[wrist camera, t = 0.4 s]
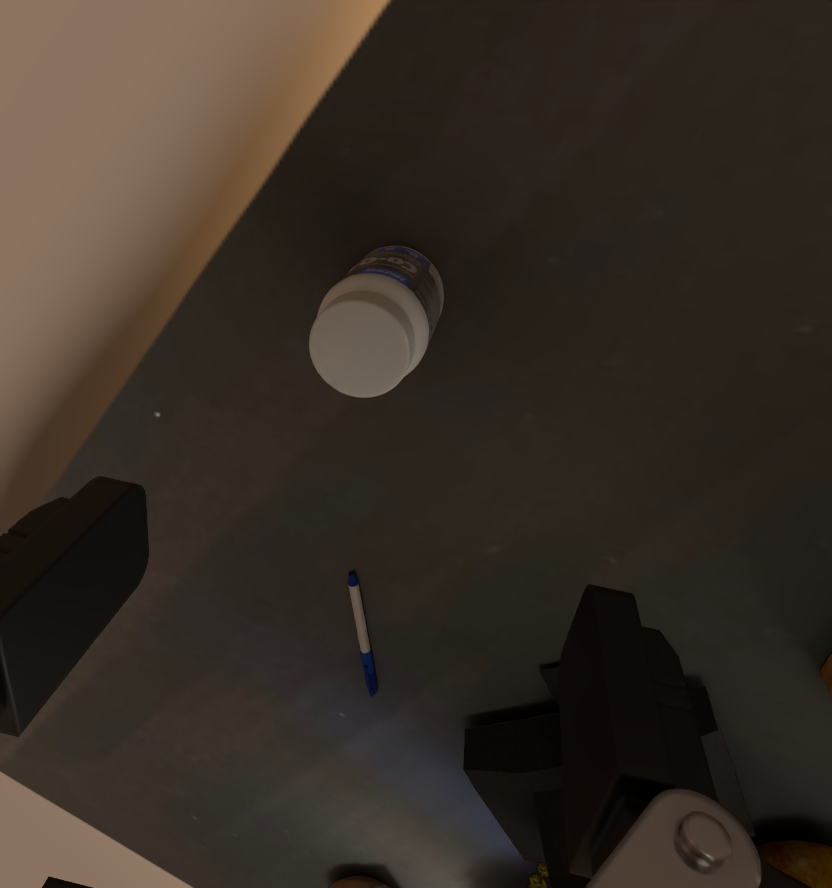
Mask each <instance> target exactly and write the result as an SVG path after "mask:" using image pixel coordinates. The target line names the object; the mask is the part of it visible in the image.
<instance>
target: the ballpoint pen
mask: <svg viewBox="0 0 832 888" xmlns="http://www.w3.org/2000/svg"><path fill="white" fill-rule="evenodd" d="M348 585H349V590H350V596H351V601H352V606H353V612H354V617H355V622H356V627H357V633H358V638H359V643H360V649H361V651H360V653H361V658H362V664H363V669H364V673H365V679H366V684H367V687H368V690H369V693H370V696H373V695H375V694H376V693H377V680H376V674H375V668H374V663H373V657H372V652H371V648H370V644H369V639H368V633H367V628H366V622H365V616H364V611H363V605H362V600H361V594H360V588H359V583H358V580H357V578H356V575H355V573H354V572H350V573H349V581H348Z"/></svg>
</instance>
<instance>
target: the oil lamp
mask: <svg viewBox="0 0 832 888" xmlns="http://www.w3.org/2000/svg"><path fill="white" fill-rule="evenodd" d="M328 888H390V887H388V886H387V885H386V884H385V883H382V882H380V881H378V880H376V879H373V878H371V877H365V876H352V877H347V878H344V879H342V880H339V881H336V882H334V883H332V884H331V885H330V886H329V887H328Z"/></svg>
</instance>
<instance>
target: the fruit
mask: <svg viewBox="0 0 832 888" xmlns="http://www.w3.org/2000/svg"><path fill="white" fill-rule="evenodd" d="M756 850H757V852H758V855H759V856H760V857H761V858H763V859H764V860H765V861H767V862H768V863H769V864H771V865H773V866H774V867H776V868H778V869H779V870H781V871H783V872H785V873H786V874H788V875H790V876H792V877H794V878H796V879H797V880H799V881H801V882H803V883H805V884H807V885H808V886H810V887H812V888H832V847H831V846H828V845H825V844H820V843H814V842H806V841H798V840H787V841H776V842H770V843H765V844H762V845H758V846H757V847H756Z"/></svg>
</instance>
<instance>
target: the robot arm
mask: <svg viewBox="0 0 832 888" xmlns="http://www.w3.org/2000/svg"><path fill="white" fill-rule="evenodd" d="M148 558H149V543H148V526H147V509H146V494H145V490H144V488H143V487H142V486H141V485H138V484H134V483H129V482H125V481H120V480H116V479H111V478H106V477H102V476H98V477H95V478H93V479H92V480H91V481H90V482H88V483H87V484H86V485H85V486H84V487H83V488H82V489H81V490H79V491H78V492H77V493H76V494H75V495H74V496H73V497H72V498H70V499H68V498H64V497H60V498H58V499H56V500H54V501H52V502H49V503H47V504H45V505H43V506H41V507H38V508H36V509H34V510H32V511H30V512H29V513H28V514H27V515H26V516H24V517H23V518H22V519H21V520H19V521H18V522H17V523H16V524H15V525H14V526H13V527H11V528H10V529H9V531H8V533H7V534H3V535H2V536H0V733H4V734H8V735H12V736H17V737H19V736H20V734H21V733H22V732H23V731H24V729H25V728H26V727H27V726H28V724H29V723H30V722H31V721H32V719H33V718H34V717H35V715H36V714H37V713H38V712H39V710H40V709H41V708H42V707H43V705H44V704H45V703H46V702H47V700H48V699H49V698H50V697H51V695H52V694H53V693H54V691H55V690H56V689H57V688H58V686H59V685H60V684H61V683H62V681H63V680H64V679H65V678H66V676H67V675H68V674H69V672H70V671H71V670H72V669H73V667H74V666H75V665H76V664H77V662H78V661H79V660H80V659H81V657H82V656H83V655H84V653H85V652H86V651H87V650H88V648H89V647H90V646H91V645H92V643H93V642H94V641H95V640H96V638H97V637H98V636H99V635H100V633H101V632H102V631H103V629H104V628H105V627H106V626H107V624H108V623H109V622H110V621H111V619H112V618H113V617H114V616H115V614H116V613H117V612H118V610H119V609H120V608H121V607H122V605H123V604H124V603H125V602H126V600H127V599H128V598H129V597H130V595H131V594H132V593H133V592H134V590H135V589H136V588H137V586H138V585H139V583H140V582H141V580H142V578H143V576H144V573H145V570H146V567H147V563H148ZM685 685H686V682H685V678H684V675H683V671H682V667H681V664H680V660H679V657H678V655H677V654H676V652H675V651H674V650H673V648H672V647H671V645H670V644H669V643H668V641H667V640H666V638H665V637H664V636H663V634H662V633H661V632H660V630H656V629H651V628H647V627H642V626H641V622H640V618H639V613H638V609H637V604H636V600H635V597H634V595H633V594H632V593H628V592H623V591H618V590H614V589H609V588H605V587H600V586H595V585H591V584H589V585H588V586H587V587H586V588H585V590H584V592H583V595H582V597H581V600H580V603H579V605H578V608H577V611H576V614H575V616H574V619H573V622H572V624H571V627H570V630H569V632H568V635H567V638H566V641H565V643H564V646H563V649H562V653H561V658H560V663H559V672H558V691H559V708H560V726H561V743H562V761H563V778H564V795H565V813H566V830H567V847H568V865H569V873H571V874H575V875H579V876H583V877H587V878H591V880H590V882H589V883H588V884H587V886H586V887H585V888H812V887H810V886H808V885H807V884H805V883H803V882H801V881H799V880H797V879H796V878H794V877H792V876H790V875H788V874H786V873H785V872H783V871H781V870H779V869H778V868H776V867H774V866H773V865H771V864H769V863H768V862H767V861H765V860H764V859H763V858H761V857H760V856H759V855H758V852H757V850H756V847H755V845H754V843H753V841H752V839H751V838H750V836H749V834H748V833H747V831H746V830H745V829H744V827H743V826H742V825H741V823H740V822H739V821H738V820H737V819H736V818H735V817H734V816H733V815H732V814H731V813H730V812H729V811H728V810H727V809H725V808H724V807H723V806H721V805H720V804H719V801H718V798H717V795H716V791H715V787H714V784H713V780H712V776H711V773H710V769H709V765H708V762H707V758H706V755H705V751H704V747H703V744H702V740H701V736H700V733H699V729H698V726H697V722H696V718H695V715H694V712H693V711H691V708H692V704H691V700H690V697H689V693H688V689H686V688H685ZM42 888H92V887H88V886H84V885H80V884H76V883H72V882H68V881H64V880H60V879H57V878H53V877H48V879H47V880H46V882H45V884H44V885H43V887H42Z"/></svg>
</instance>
